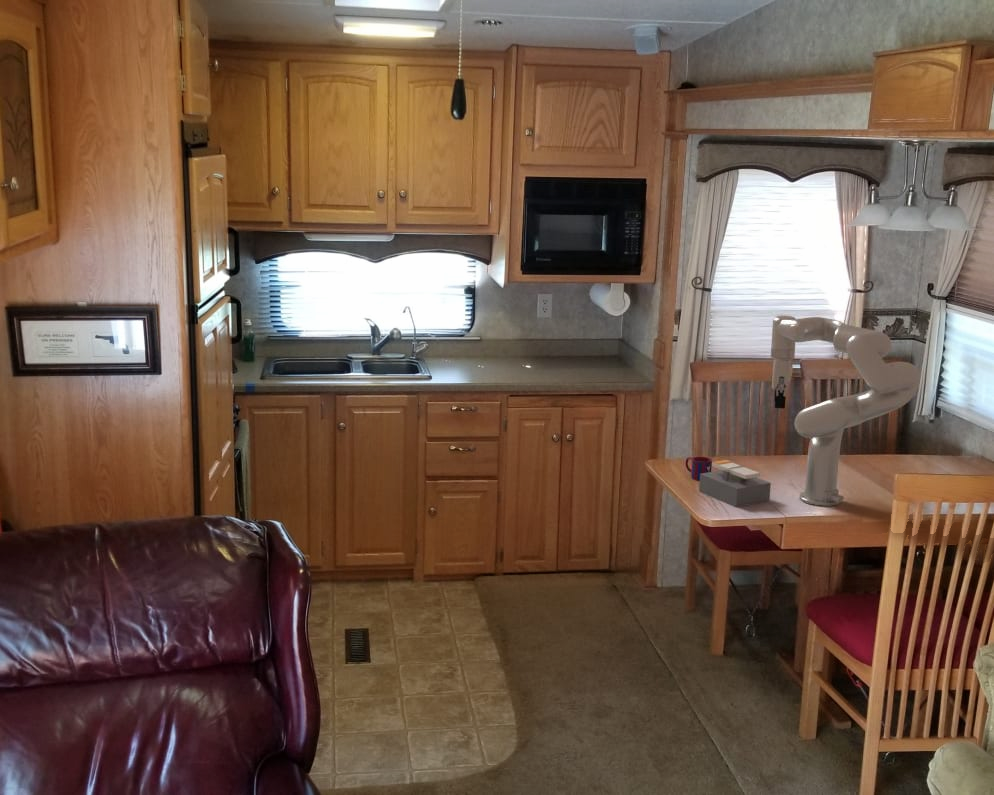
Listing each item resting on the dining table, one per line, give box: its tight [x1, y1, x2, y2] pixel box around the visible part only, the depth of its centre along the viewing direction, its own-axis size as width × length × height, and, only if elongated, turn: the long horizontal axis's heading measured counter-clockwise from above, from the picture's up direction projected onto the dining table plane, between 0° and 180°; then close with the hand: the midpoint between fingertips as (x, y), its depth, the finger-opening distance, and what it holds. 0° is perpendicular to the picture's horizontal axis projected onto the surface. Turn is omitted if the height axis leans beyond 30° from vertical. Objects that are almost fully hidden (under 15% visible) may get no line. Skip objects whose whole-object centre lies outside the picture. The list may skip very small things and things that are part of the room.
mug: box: [685, 456, 713, 482], centre depth 353 cm, size 7×10×7 cm
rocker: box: [712, 459, 761, 479], centre depth 332 cm, size 16×6×2 cm, turn 29°
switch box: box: [698, 469, 772, 508], centre depth 333 cm, size 18×14×9 cm
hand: (779, 404), depth 338 cm, fingers open, 9 cm apart
